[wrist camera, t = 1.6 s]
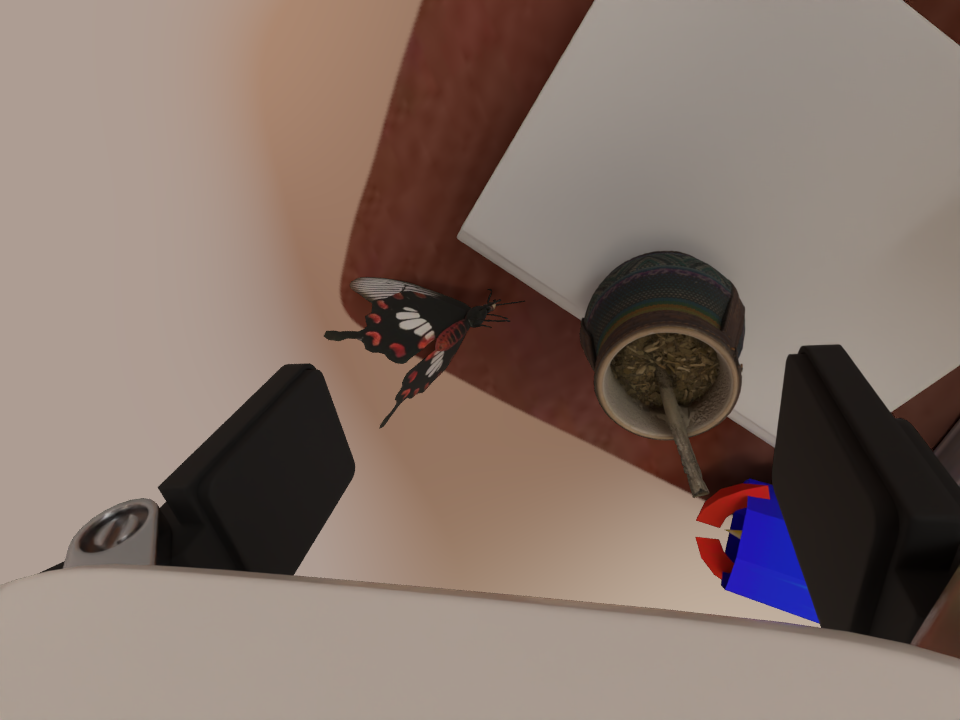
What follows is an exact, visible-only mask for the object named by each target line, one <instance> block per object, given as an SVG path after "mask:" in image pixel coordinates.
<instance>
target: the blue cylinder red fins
mask: <svg viewBox="0 0 960 720" xmlns="http://www.w3.org/2000/svg"><path fill="white" fill-rule="evenodd" d="M732 513H734V514H733V518H732V523H731V527H730V530H726V531H728V532H729V537H728V541H727V545H726V550H725V552H724V551H723V549H722V546H721V543H720V541H719V539H710V538H701V537H696V541H697V544H698V548H699V551H700V555H701V558H702V559H703V560H704V562H705V563H706V564H707V566H708V567H709V568H710V570H711V571H712V572H713V574H714V575H715V576H717V577H718V578H720V579H721V580H722V581H721V586H722V587H723V588H724V589H725V590H727V591H730V592H733V593H735V594H738V595H741V596H744V597H747V598H749V599H752V600H755V601H758V602H761V603H764V604H766V605H769V606H772V607H774V608H777V609H780V610H783V611H786V612H789V613H791V614H794V615H797V616H800V617H802V618H805V619H808V620H811V621H814V622H816V623H819V620H818V617H817V614H816V611H815V608H814V605H813V602H812V599H811V597H810V594H809V591H808V588H807V585H806V582H805V579H804V576H803V573H802V570H801V568H800V565H799V562H798V559H797V556H796V553H795V550H794V547H793V544H792V541H791V539H790V536H789V533H788V530H787V527H786V524H785V521H784V518H783V515H782V512H781V510H780V507H779V504H778V501H777V498H776V495H775V492H774V489H773V485H771V484H768V483H764V482H760V481H757V480H753V479H750V478H749V479H748V480H746V481H744V482H743V483H741V484H737V485H734V486H730V487H726V488H723V489H720V490H719V491H718V492H716V493H715V494H714V495H713V496H711V497H710V498H709V499H708V500H707V501H705V503H704V505H703V507H702V509H701V511H700V513H699V515H698V517H697V519H696V521H699V522H703V523H706V524H709V525H712V526H715V527H719V528H720V527H721V525H722V523H723V522H724V520H725V519H726V517H728V516H729V515H731V514H732ZM819 624H820V623H819Z"/></svg>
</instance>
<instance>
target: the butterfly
mask: <svg viewBox="0 0 960 720" xmlns="http://www.w3.org/2000/svg"><path fill="white" fill-rule="evenodd" d="M350 287H351V289H352V290H354V291H355V292H357V293H358V294H360V295H361V296H362V297H364V298H365V299H366V300H368V301H369V302H371V303H372V312H371V313H370V314H368V315H367V316H365V319H366V324H367V327H366V328H365V329H363V330H361V331H359V332H356V331H342V332H338V331H326V333H325V335H324V337H325V338H327V339H328V340H335V341H341V340H344V339H347V338H351V339H358V340H360V341H362V342H363V343H364V345H365V349H366V350H368V351H370V352H373V353H374V352H375V353H377V352H379V353H382V354H385V355H386V357H387V358H388V359H389V360H391V361H393V362H395V363H400V364H404V363H406V362H407V361H408V360H409V359H410V358H411V357H413V356H414V355H416V354H417V353H418V352H420V351H421V350H422V349H424V348H425V347H426V346H427V345H428V344H429V343H430V342H431V341H433V340H434V339H436V338H437V341H436V345H435V351H434V352H432V353H431V354H430V355H428V356H427V357H426V358H424V359H423V360H422V361H421V362H420V363H418V364H417V365H416V366H415V367H414V368H412V369H411V370H410V371H409V372H408V373H407V374H406V376H405V377H404V380H403V382H402V388H401V390H400V391H399V393H398V394H397V395H396V398H395V400H396V401H397V403H396V405H395V407H394V408H393V410H392V411H391V412H390V414H389V415H388V416H387V417H386V418H385V419H384V420H383V422H382V424H381V425H380V428H382V427H383V426H384V425H385V424H386V423H387V421H388V420H389V418H390V417H391V415H392V414H393V413H394V412H395V410H396V409H397V407H398V406H399V405H400V404H401V403H402V402H403V401H404V400H405V399H406V398H412V397H414V396H415V395H416V394H418V393H423V392H424V391H425V390H426V389H427V388H428V387H429V385H430V384H431V383H432V382H433V381H434V380H435V379H436V378H437V377H438V376H439V375H440V374H441V373H442V372H443V371H444V370H445V369H446V368H447V366H448V365H449V364H450V362H451V360H452V359H453V357H454V355H455V354H456V352H457V350H458V348H459V346H460V344H461V342H462V341H463V339H464V337H465V335H466V333H467V331H468V330H469V328H470V327H473V328H475V327H480V326H485V327H490V326H486V325H481V324H482V323H483V321H487V322H490V321H496V322H505V321H507V322H511V321H510V320H485V318H486V315H493V316H499V315H494V314H487V313H489V312H490V311H493V310H494V309H495V307H496V306H497V305H504V304H512V303H519V302H525V301H519V302H511V303H504V304H495V303H497V302H499V301H501V300H500V299H499V300H497V301H496V299H495V300H493V301H494V302H490V303H489V299H490V297H491V295H492V290H491V289H487V290H490V291H491V293H490V295H489V297H488V301H487V302H488V304H484V305H483V306H475V307H473V308H471V307H469V306H468V305H466V304H465V303H463V302H461V301H458V300H456V299H454V298H451V297H448V296H446V295H443V294H440V293H438V292H435V291H432V290H429V289H426V288H424V287H421V286H418V285H415V284H412V283H408V282H403V281H398V280H393V279H385V278H371V277H366V278H358V279H355V280H354V281H352V282H351V283H350ZM499 317H502V316H499ZM502 318H505V319H508V318H506V317H502ZM490 328H492V327H490Z"/></svg>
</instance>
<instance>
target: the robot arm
mask: <svg viewBox="0 0 960 720" xmlns="http://www.w3.org/2000/svg"><path fill="white" fill-rule="evenodd" d="M354 472H355V463H354V459H353V456H352V454H351V451H350V448H349V446H348V442H347V440H346V437H345V434H344V431H343V429H342V426H341V423H340V421H339V418H338V415H337V412H336V409H335V406H334V404H333V401H332V398H331V395H330V393H329V390H328V387H327V384H326V382H325V379H324V376H323V374H322V372H320V370H316V368H315V367H314V366H313V365H311V364H287V365H284V366H283V367H281V368H280V369H279V370H278V371H277V372H276V373H275V374H274V375H273V376H272V377H271V378H270V379H269V380H268V381H267V382H266V383H265V384H264V385H263V386H262V387H261V388H260V389H259V390H258V391H257V392H256V393H254V395H252V396H251V397H250V398H249V399H248V400H247V401H246V402H245V403H244V404H243V405H242V406H241V407H240V408H239V409H238V410H237V411H236V412H235V413H234V414H233V415H232V416H231V417H230V418H229V419H228V420H227V421H226V422H225V423H224V424H222V425H221V426H220V427H219V429H217V430H216V431H215V432H214V433H213V434H212V435H211V436H210V437H209V438H208V439H207V440H206V441H205V442H204V443H203V444H202V445H201V446H200V447H199V448H198V449H197V450H196V451H195V452H194V453H193V454H192V455H191V456H189V457H188V458H187V459H186V460H185V461H184V462H183V463H182V465H180V466H179V467H178V468H177V469H176V470H175V471H174V472H173V473H172V474H171V475H170V476H169V477H168V478H167V479H166V480H165V481H164V482H163V483H162V484H161V485H160V486H159V487H158V489H159V490H160V492H161V493H162V495H163V497H164V498H165V500H166V503H164V504H163V505H162V507H161V508H159V506H158V505H157V503H155V502H154V501H153V500H151V499H144V498H141V499H134V500H129V501H126V502H123V503H120V504H117V505H115V506H113V507H111V508H109V509H107V510H105V511H103V512H102V513H100V514H99V515H97V516H96V517H94V518H92V519H91V520H90V521H89V522H88V523H87V524H85V525H84V526H83V527H82V528H81V529H80V530H79V531H78V532H77V534H76V535H75V536H74V537H73V539H72V541H71V543H70V545H69V548H68V551H67V555H66V559H65V561H64V562H62V563H60V564H58V565H56V566H53V567H51V568H49V569H47V570H45V571H43V572H40V573H38V574H35V575H31V576H28V577H24V578H20V579H16V580H14V581H11V582H8V583H5V584H2V585H0V720H960V487H959V486H958V484H957V483H956V482H955V480H954V479H953V478H952V476H951V475H950V474H949V472H948V471H947V470H946V468H945V467H944V466H943V465H942V463H941V462H940V461H939V459H938V458H937V457H936V455H935V454H934V453H933V451H932V450H931V449H930V448H929V446H928V445H927V444H926V442H925V441H924V440H923V438H922V437H921V436H920V434H919V433H918V432H917V430H916V429H915V428H914V427H913V426H912V425H911V424H910V423H909V422H908V421H907V420H904V419H901V418H897V419H895V418H894V416H893V415H892V414H891V412H890V411H889V410H888V408H887V407H886V406H885V404H884V403H883V401H882V400H881V399H880V397H879V396H878V395H877V393H876V392H875V390H874V389H873V388H872V386H871V385H870V384H869V382H868V381H867V379H866V378H865V377H864V375H863V374H862V373H861V371H860V370H859V369H858V367H857V366H856V364H855V363H854V362H853V360H852V359H851V358H850V356H849V355H848V353H847V352H846V351H845V349H844V348H843V347H842V346H841V345H840V344H832V345H804V346H801V347H800V349H799V351H798V354H789V355H788V356H787V359H786V364H785V372H784V380H783V388H782V396H781V404H780V411H779V419H778V427H777V435H776V443H775V450H774V458H773V466H772V483H773V489H774V492H775V495H776V498H777V501H778V504H779V507H780V510H781V512H782V515H783V518H784V521H785V524H786V527H787V530H788V533H789V536H790V539H791V541H792V544H793V547H794V550H795V553H796V556H797V559H798V562H799V565H800V568H801V570H802V573H803V576H804V579H805V582H806V585H807V588H808V591H809V594H810V597H811V599H812V602H813V605H814V608H815V611H816V614H817V617H818V620H819V623H820V626H821V628H818V627H811V626H804V625H798V624H791V623H784V622H774V621H766V620H757V619H748V618H738V617H729V616H721V615H711V614H703V613H693V612H685V611H676V610H666V609H655V608H646V607H645V608H644V607H635V606H625V605H614V604H604V603H603V604H602V603H592V602H583V601H572V600H562V599H551V598H541V597H530V596H519V595H508V594H498V593H486V592H476V591H464V590H454V589H443V588H431V587H420V586H409V585H398V584H386V583H374V582H363V581H352V580H340V579H329V578H317V577H304V576H293V575H294V574H295V572H296V570H297V569H298V567H299V566H300V564H301V562H302V561H303V559H304V557H305V555H306V554H307V552H308V551H309V549H310V547H311V546H312V544H313V543H314V541H315V539H316V537H317V536H318V534H319V533H320V531H321V529H322V528H323V526H324V524H325V523H326V521H327V519H328V518H329V516H330V515H331V513H332V511H333V510H334V508H335V506H336V505H337V503H338V501H339V500H340V498H341V496H342V495H343V493H344V492H345V490H346V488H347V487H348V485H349V483H350V482H351V480H352V478H353V476H354Z"/></svg>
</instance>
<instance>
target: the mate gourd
mask: <svg viewBox="0 0 960 720" xmlns="http://www.w3.org/2000/svg"><path fill="white" fill-rule="evenodd" d="M745 329H746V328H745V306H744V305H743V303H742V301H741V299H740V298H739V294H738V291H737V289H736V287H735V286H734V284H733V283H732V282H731V281H730V280H729V279H727V278H726V277H725V276H724V275H722V274H721V273H720V272H719V271H717V270H716V269H714V268H713V267H712V266H710V265H709V264H708V263H705V262H703V261H701V260H699V259H697V258H695V257H693V256H691V255H688V254H686V253H682V252H679V251H672V250H671V251H653V252H650V253H645V254H643V255H639V256H637V257H633V258H631V259H630V260H627V261H625V262H624V263H622V264H621V265H619V266H618V267H616V268H615V269H614V270H612V271H611V272H610V274H609V275H608V276H606V278H605V279H604V280H603V281H602V282H601V284H599V287H598V288H597V289H596V291H595V292H594V293H593V295H592V298H591V299H590V302H589V304H588V307H587V310H586V313H585V317H584V318H582V320H581V328H580V343H581V346H582V348H583V351H584V353H585V355H586V357H587V360H588V361H589V363H590V365H591V367H592V369H593V370H594V372H595V375H594V381H593V382H594V389H595V390H594V391H595V393H596V396H597V399H598V401H599V404H600V405H601V407H602V409H603V410H604V412H605V413H606V414H607V415H608V416H609V417H610V419H612V420H613V421H614V422H615V423H616V424H618V425H619V426H621V427H622V428H624V429H625V430H627V431H629V432H631V433H634V434H636V435H638V436H642V437H645V438H649V439H655V440H674V441H675V444H677V449H678V452H679V454H680V455H681V460H682V465H683V466H684V467H683V468H684V472H685V473H686V474H687V477H688V482H689V485H690V489H691V492H692V495H693V498H695V497H698V496H703V495H707V494H709V491H708V489H707V486H706V484H705V482H704V481H703V479H702V474H701V470H700V467H699V465H698V463H697V460H696V458H695V455H694V453H693V450H692V447H691V444H690V441H689V437H693V436H696V435H699V434H702V433H704V432H706V431H708V430H710V429H712V428H713V427H715V426H717V425H718V424H720V423H721V422H722V421H723V420H724V419H725V418H726V417H727V416H728V415H729V414H730V413H731V412H732V410H733V409H734V407H735V405H736V403H737V401H738V398H739V395H740V392H741V386H742V375H741V372H743V371H742V370H743V364H739V360H738V359H739V357H740V355H741V351H742V350H743V344H744V343H743V342H744V337H745Z"/></svg>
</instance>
